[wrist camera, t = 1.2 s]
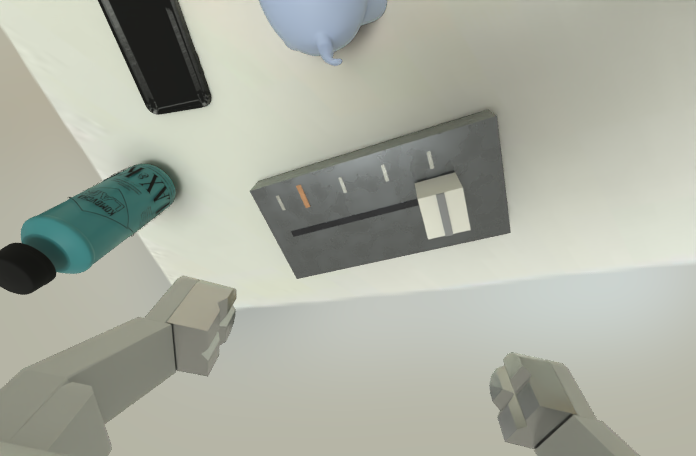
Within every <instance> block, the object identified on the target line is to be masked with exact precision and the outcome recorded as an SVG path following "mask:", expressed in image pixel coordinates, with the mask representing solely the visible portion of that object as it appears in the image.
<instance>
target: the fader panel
mask: <svg viewBox="0 0 696 456" xmlns="http://www.w3.org/2000/svg"><path fill="white" fill-rule="evenodd" d="M454 172H455V173H456V175H457V177H458V179H459V181H460V183H461V185H462V187H463V191H464V196H465V202H466V207H467V213H468V218H469V223H470V229H471V230H468V231H464V232H459V233H455V234H453V235H451V236H442V237H437V238H433V239H428V237H427V233H426V229H425V225H424V222H423V218H422V214H421V210H420V206H419V203H418V199H417V194H416V188H415V183H417V182H421V181H425V180H428V179H432V178H436V177H439V176H443V175H447V174H450V173H454ZM250 192H251V194H252V196H253V198H254V200H255V202H256V203H257V205H258V207H259V209H260V211H261V213H262V215H263V216H264V218H265V220H266V222H267V224H268V226H269V228H270V229H271V231H272V233H273V235H274V237H275V239H276V241H277V243H278V244H279V246H280V248H281V250H282V252H283V254H284V256H285V257H286V259H287V261H288V263H289V265H290V267H291V269H292V271H293V272H294V274H295V276H296V278H297V279H299V278H303V277H308V276H313V275H317V274H322V273H327V272H331V271H336V270H341V269H345V268H350V267H354V266H359V265H364V264H368V263H373V262H378V261H382V260H387V259H392V258H396V257H401V256H405V255H410V254H415V253H419V252H424V251H429V250H433V249H438V248H443V247H447V246H452V245H456V244H461V243H466V242H470V241H475V240H480V239H484V238H489V237H494V236H498V235H503V234H507V233H511V232H510V224H509V215H508V207H507V198H506V190H505V181H504V173H503V164H502V155H501V147H500V138H499V130H498V121H497V116H496V115H495V114H494V113H492V112H491V111H490V110H485V111H482V112H479V113H476V114H473V115H469V116H466V117H463V118H460V119H457V120H453V121H450V122H447V123H444V124H441V125H437V126H434V127H431V128H428V129H425V130H421V131H418V132H415V133H412V134H408V135H405V136H402V137H399V138H396V139H392V140H389V141H386V142H383V143H380V144H376V145H373V146H370V147H367V148H364V149H360V150H357V151H354V152H351V153H348V154H344V155H341V156H338V157H335V158H331V159H328V160H325V161H322V162H319V163H315V164H312V165H309V166H306V167H303V168H299V169H296V170H293V171H290V172H287V173H283V174H280V175H277V176H274V177H270V178H267V179H264V180H261V181H258V182H257V183H256V185H255V186H254V187H253V188H252V189H251V190H250Z"/></svg>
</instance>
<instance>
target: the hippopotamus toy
mask: <svg viewBox="0 0 696 456" xmlns="http://www.w3.org/2000/svg"><path fill="white" fill-rule="evenodd" d="M259 2H260V5H261V7H262V9H263V11H264V14H265V16H266V17H267V19H268V21H269V23H270V24H271V26H272V28H273V29H274V31H275V32H276V33H277V34H278V36H279V37H280V38H281V39H282V40H283V41H284V43H285V44H286V46H287V47H289V48H290V49H292V50H296V51H300V52H302V53H305V54H308V55H312V56H321V57H322V59H323V60H324V61H325V62H326V63H328V64H330V65H334V66H337V65H340V64H341V63H342V60H341V59H333V54H334V52H335V51H337V50H339V49H341V48H343V47H344V46H346V45H347V44H348V43H350V42H351V41H352V39H353V38H354V37H355V36H356V34H357V32H358V30H359V28H360V26H361V25H365V24H368V23H371V22H374V21H376V20H377V19H379V18H380V17H381V16H382V15H383V13H384V11H385V9H386V6H387V0H259Z"/></svg>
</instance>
